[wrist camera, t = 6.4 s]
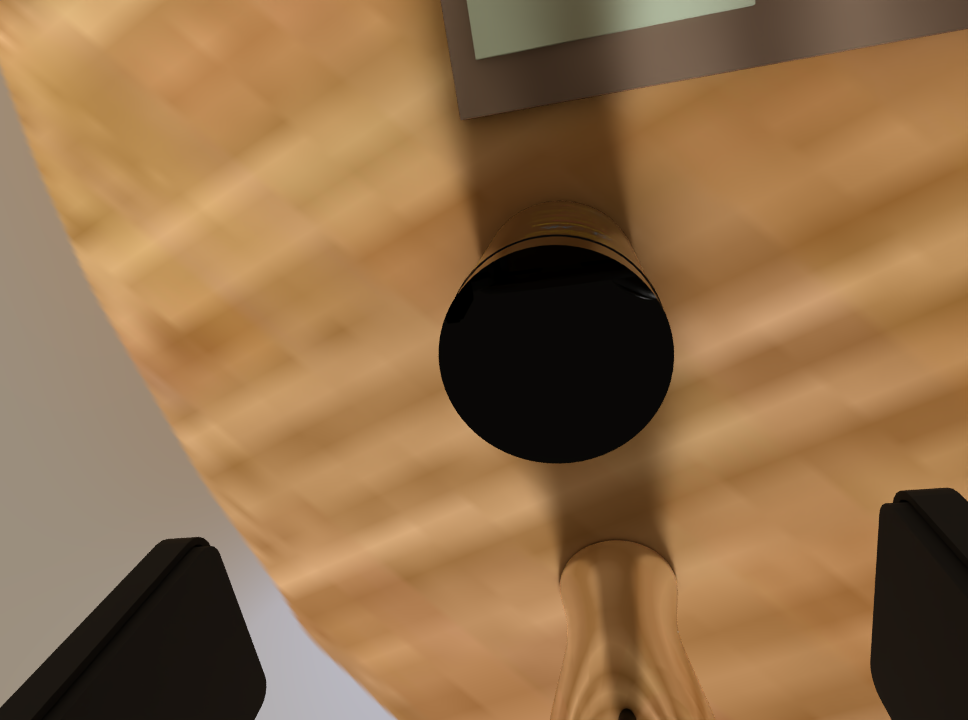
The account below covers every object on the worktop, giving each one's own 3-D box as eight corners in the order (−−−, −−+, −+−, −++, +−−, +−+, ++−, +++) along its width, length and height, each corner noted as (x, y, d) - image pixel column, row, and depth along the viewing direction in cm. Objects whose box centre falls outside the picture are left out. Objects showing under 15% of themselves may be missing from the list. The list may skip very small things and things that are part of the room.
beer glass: (593, 654, 35) (609, 1007, 21) (526, 564, 33) (494, 883, 20) (710, 609, 33) (812, 967, 19) (644, 510, 31) (702, 824, 17)
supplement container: (470, 210, 27) (415, 262, 17) (630, 185, 26) (666, 226, 16) (495, 355, 29) (460, 473, 20) (643, 338, 28) (682, 454, 19)
